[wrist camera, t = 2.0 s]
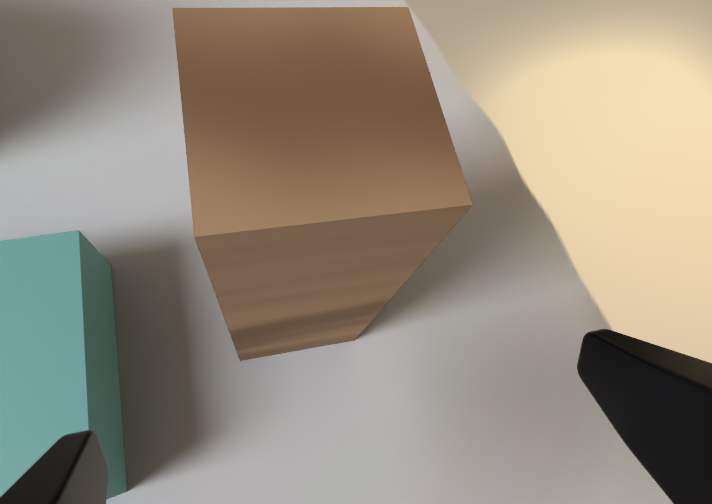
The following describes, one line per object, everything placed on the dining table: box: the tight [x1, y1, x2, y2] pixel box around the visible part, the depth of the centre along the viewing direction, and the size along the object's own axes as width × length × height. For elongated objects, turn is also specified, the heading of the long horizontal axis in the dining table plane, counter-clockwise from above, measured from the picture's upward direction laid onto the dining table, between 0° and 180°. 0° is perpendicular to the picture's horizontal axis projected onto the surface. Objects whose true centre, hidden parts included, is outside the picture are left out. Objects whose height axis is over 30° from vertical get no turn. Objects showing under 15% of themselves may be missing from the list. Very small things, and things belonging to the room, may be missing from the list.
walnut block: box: [173, 7, 473, 361], centre depth 15 cm, size 5×5×13 cm
